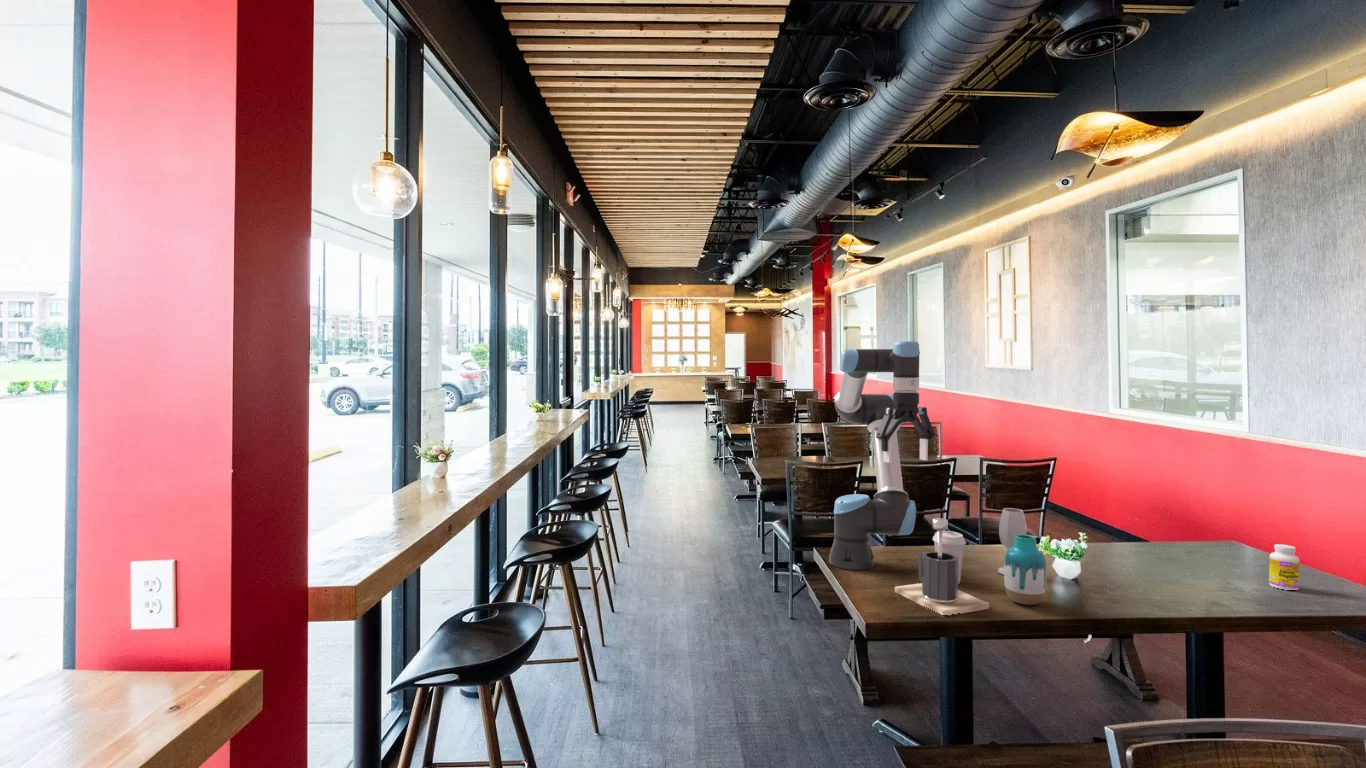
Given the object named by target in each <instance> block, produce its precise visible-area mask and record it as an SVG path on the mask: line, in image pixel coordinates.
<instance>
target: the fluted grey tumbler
mask: <svg viewBox="0 0 1366 768" xmlns="http://www.w3.org/2000/svg"><path fill="white" fill-rule="evenodd" d="M918 581H920V582H921V583H922V596H923V598H924V599H926V600H928V601H930V602H934V603H940V604H952V603H955V602H957V597H958V590H959V584H958V558H957V556H955V555H952V554H949V553H944V552H942V560H938V552H935V551H934V550H933V551H922V552H918Z"/></svg>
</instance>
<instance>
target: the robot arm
mask: <svg viewBox="0 0 1366 768" xmlns="http://www.w3.org/2000/svg"><path fill="white" fill-rule="evenodd" d="M920 354H921V350H920V343H919V342H918V341H916V340H915V341H914V340H907V341H906V340H905V341H904V340H903V341H901V340H900V341H895V342H894V344H893V348H878V349H877V348H869V349H868V348H851V349H843V350H842V351H841V352H840V365H839V367H840V371H842V373H843V376H842V380H841V384H840V389H839V391H838V392H837V394H836V395H835V397H834V403H833V404H834V408H835V411H836V413H837V414H838V415H839V417H841V419H843V420H844V421H846V422H847V423H850V424H852V425H861V426H862V425H863V426H866V428H867V431H868V432H869V433H871V434H872V435H871V436H872V444H873V445H872V446H873V455H874V469H875V477H876V486H877V487H876V488H877V489H876V490H877V492H875V493H874V495H873V499H871V498H870V496H869V495H867V494H861V493H853V494H845V495H842V496H839V497H837V498H836V499H835V501H834V507H833V508H834V509H833V514H834V524H833V525H834V529H833V530H834V531H833V533H834V538H833V543H832V546H831V548H830V552H829V555H828V556H829V557H828V563H829V564H830V565H832V566H833V567H837V568H840V569H844V570H852V571H865V570H870V569H872V568H874V567H875V556H874V553H873V550H872V547H871V544H870V535H885V536H890V535H891V536H909V535H911V533H913V531H914V529H915V524H916V523H915V522H916V514H917V507H916V503H915V500H911V499H910V497H909V494H908V493H907V492H906V491H905V490H904V485H903V477H902V466H901V460H900V452H899V444H898V434H897V431H899V430H900V429H901V425H903V424H904V423H911V424H912V425H913V426H914V428H915V430H916V431H917V432H918V433H919V436H921V438H919V460H922V461H929V460H928V456H929V455H928V453H929V449H930V440H932V439H933V437H936V433H935V430H934V427H933V425H932V424H931V420H930V418H929V416H928V411H927V410H928V409H927V407H926V406H925V407H924V406H919V404H920V393H919V392H918V391H919V390H920ZM869 373H893V378H892V390H893V391H894V392H893V393H892V394H890V393H883V394H882V393H880V394H879V393H876V394H875V393H873V394H871V393H869V394H868V393H863V390H864V387H865V382H866V380H867V378H868V377H867V376H868V374H869ZM918 406H919V407H918Z"/></svg>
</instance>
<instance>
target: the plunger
mask: <svg viewBox="0 0 1366 768" xmlns="http://www.w3.org/2000/svg"><path fill="white" fill-rule="evenodd" d="M948 524H949V520H948V519H947V518H942V517H941V518H940V517H935V518H932V529H933V530H936V531H937V532H938V560H942V531H949V529H948V528H949V527H948V526H949V525H948Z"/></svg>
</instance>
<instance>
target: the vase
mask: <svg viewBox="0 0 1366 768" xmlns="http://www.w3.org/2000/svg"><path fill="white" fill-rule="evenodd" d="M1037 546H1038V545H1037V538H1036V536H1034V535H1031V534H1027V533H1026V534H1017V535H1015V539H1014V546H1013V547H1011V548H1009V549H1006V552H1005V554H1004V561H1003V563H1004V564H1003V565H1004V566H1003V567H1004V575H1003V579H1004V580H1003V581H1004V583H1003V584H1004V590H1005V593H1006V595H1007V596H1008V598H1009V599H1010V600H1011V601H1013V602H1016V603H1018V604H1021V605H1026V606H1033V605H1039V604H1040V603H1041V602H1042V601H1044V599H1045V595H1046V590H1047V562H1046V557H1045V555H1044V553H1043V552H1042V551H1040V550H1039V549H1038V547H1037Z"/></svg>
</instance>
